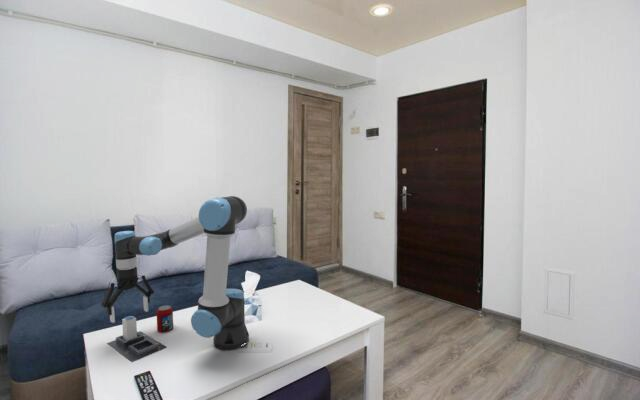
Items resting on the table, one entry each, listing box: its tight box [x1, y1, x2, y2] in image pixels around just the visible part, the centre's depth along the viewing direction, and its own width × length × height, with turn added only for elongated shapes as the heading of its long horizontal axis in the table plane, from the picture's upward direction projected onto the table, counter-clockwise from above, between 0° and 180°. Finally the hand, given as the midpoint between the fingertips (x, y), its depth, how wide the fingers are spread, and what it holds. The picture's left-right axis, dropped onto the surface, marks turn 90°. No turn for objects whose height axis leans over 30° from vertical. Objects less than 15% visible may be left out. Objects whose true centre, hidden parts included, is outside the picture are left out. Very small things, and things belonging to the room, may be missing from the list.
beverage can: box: [156, 304, 174, 334], centre depth 154 cm, size 7×7×12 cm
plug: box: [121, 315, 138, 341], centre depth 143 cm, size 4×4×11 cm
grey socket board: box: [106, 331, 168, 363], centre depth 140 cm, size 24×14×4 cm, turn 53°
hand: (130, 316), depth 143 cm, fingers open, 13 cm apart
